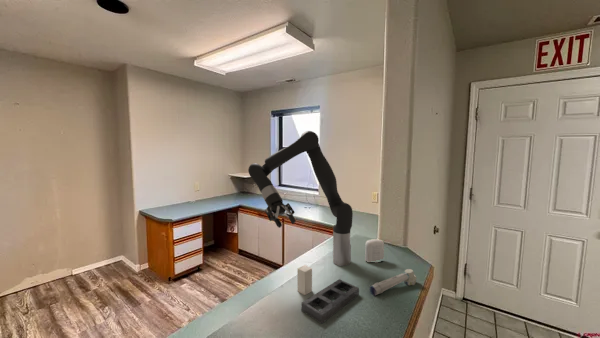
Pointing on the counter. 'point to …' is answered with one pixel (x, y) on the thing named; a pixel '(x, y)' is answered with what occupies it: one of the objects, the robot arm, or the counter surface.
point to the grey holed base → (327, 304)
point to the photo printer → (374, 250)
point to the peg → (304, 280)
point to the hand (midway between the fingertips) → (287, 224)
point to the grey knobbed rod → (393, 282)
